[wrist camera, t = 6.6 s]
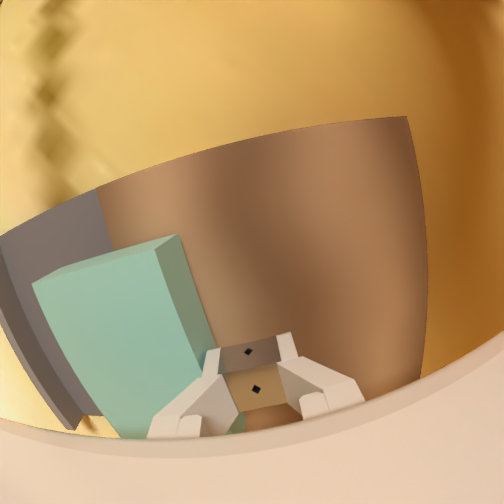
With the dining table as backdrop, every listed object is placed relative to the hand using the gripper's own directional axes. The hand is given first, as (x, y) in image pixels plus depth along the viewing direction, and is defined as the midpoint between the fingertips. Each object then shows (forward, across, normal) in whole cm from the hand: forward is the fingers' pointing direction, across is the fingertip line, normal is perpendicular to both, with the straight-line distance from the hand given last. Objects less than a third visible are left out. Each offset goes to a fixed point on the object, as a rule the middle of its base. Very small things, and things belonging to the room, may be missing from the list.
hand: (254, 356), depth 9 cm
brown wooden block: (+5, -2, 0) cm, 6 cm away
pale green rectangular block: (+1, +4, 0) cm, 5 cm away
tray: (+5, +11, 0) cm, 12 cm away
